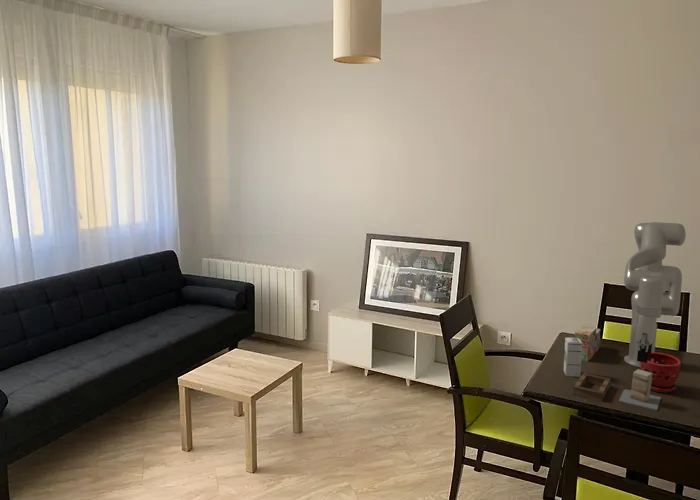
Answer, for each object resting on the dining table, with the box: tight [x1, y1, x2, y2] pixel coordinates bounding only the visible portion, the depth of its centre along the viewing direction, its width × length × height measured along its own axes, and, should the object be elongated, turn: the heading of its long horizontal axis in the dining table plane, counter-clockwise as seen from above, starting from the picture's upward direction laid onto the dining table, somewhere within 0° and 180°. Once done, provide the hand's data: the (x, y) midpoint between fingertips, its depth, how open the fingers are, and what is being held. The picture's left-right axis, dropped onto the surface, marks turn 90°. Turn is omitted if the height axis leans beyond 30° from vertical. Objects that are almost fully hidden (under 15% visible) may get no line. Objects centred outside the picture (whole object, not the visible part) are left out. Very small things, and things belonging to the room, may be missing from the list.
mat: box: [618, 388, 662, 412], centre depth 196 cm, size 12×12×1 cm
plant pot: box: [639, 351, 682, 393], centre depth 206 cm, size 13×13×12 cm
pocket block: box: [572, 372, 612, 402], centre depth 204 cm, size 16×10×3 cm, turn 145°
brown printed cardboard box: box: [573, 325, 601, 362], centre depth 242 cm, size 21×6×12 cm, turn 143°
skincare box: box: [630, 368, 652, 402], centre depth 195 cm, size 5×4×10 cm
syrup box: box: [563, 337, 582, 378], centre depth 218 cm, size 6×6×14 cm
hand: (644, 357), depth 194 cm, fingers open, 9 cm apart
